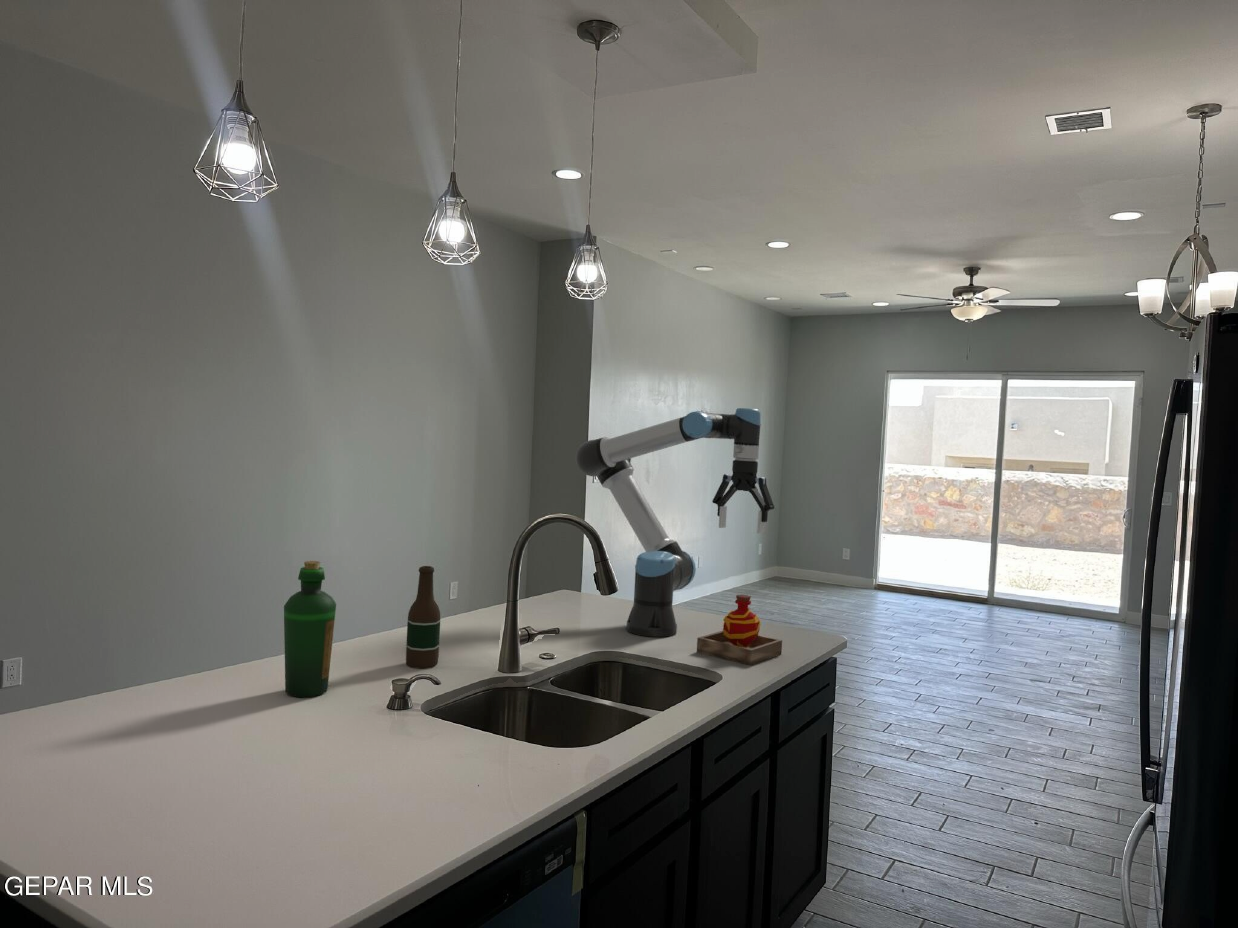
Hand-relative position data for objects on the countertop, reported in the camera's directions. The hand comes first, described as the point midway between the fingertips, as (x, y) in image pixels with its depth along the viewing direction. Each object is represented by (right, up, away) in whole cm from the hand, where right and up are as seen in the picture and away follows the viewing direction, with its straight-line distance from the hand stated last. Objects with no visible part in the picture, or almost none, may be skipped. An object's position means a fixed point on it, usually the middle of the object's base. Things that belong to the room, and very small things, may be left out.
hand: (741, 530), depth 258 cm
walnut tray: (-4, -32, -21) cm, 39 cm away
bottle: (-104, -29, -75) cm, 131 cm away
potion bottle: (-3, -32, -21) cm, 38 cm away
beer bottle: (-85, -29, -50) cm, 102 cm away
